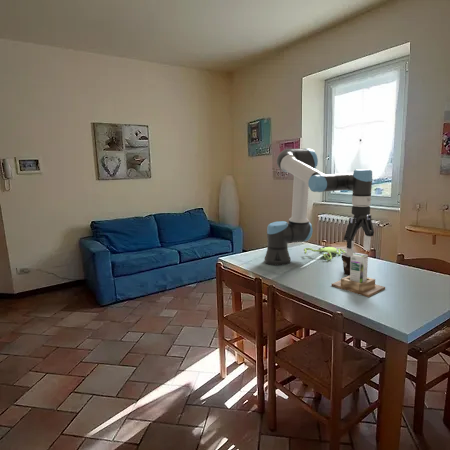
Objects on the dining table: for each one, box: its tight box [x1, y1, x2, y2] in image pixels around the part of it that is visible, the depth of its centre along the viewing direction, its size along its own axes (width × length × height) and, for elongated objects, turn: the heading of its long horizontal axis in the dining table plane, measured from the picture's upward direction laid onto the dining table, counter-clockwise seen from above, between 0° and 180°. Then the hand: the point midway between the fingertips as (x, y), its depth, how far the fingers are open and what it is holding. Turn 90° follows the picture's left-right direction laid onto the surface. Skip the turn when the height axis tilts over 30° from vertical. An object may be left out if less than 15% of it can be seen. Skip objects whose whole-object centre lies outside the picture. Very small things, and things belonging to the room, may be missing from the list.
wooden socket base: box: [330, 275, 386, 298], centre depth 149 cm, size 18×14×4 cm
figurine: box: [303, 246, 347, 262], centre depth 203 cm, size 18×27×6 cm
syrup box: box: [349, 252, 369, 283], centre depth 148 cm, size 6×6×14 cm
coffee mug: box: [341, 252, 351, 276], centre depth 169 cm, size 12×9×10 cm
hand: (358, 252), depth 147 cm, fingers open, 13 cm apart
